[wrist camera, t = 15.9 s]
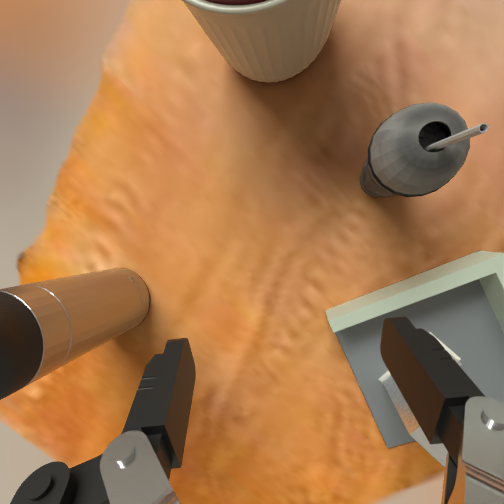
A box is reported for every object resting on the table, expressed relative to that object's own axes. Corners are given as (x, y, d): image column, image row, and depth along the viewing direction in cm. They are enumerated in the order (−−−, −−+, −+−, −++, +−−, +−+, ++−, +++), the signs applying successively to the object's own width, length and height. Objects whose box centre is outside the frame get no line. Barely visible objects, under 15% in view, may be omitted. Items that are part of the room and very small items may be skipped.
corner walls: (387, 446, 37) (398, 475, 32) (325, 310, 37) (328, 320, 33) (549, 400, 33) (586, 426, 29) (479, 250, 33) (505, 253, 29)
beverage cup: (392, 136, 34) (507, 7, 15) (423, 189, 34) (581, 128, 15) (337, 168, 36) (374, 90, 16) (366, 219, 36) (440, 202, 16)
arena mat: (387, 446, 37) (388, 449, 36) (325, 310, 37) (325, 311, 37) (549, 400, 33) (553, 403, 33) (479, 250, 33) (481, 250, 33)
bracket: (406, 403, 36) (444, 467, 26) (381, 379, 36) (409, 434, 26) (456, 359, 34) (517, 410, 24) (430, 336, 35) (479, 376, 25)
